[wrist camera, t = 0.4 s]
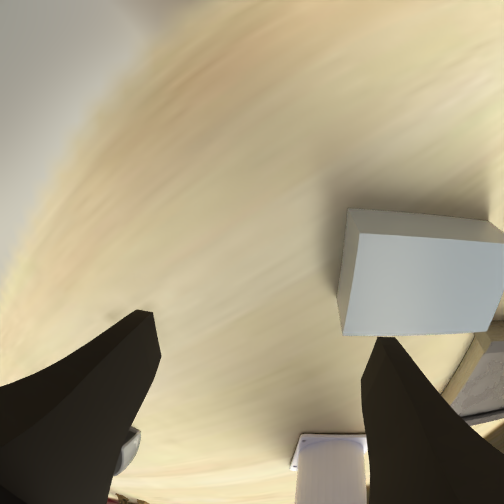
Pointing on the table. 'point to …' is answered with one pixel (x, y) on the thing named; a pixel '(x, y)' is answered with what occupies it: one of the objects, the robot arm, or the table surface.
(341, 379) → the table surface
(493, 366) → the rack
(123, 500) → the eiffel tower
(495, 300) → the light grey rectangular block
